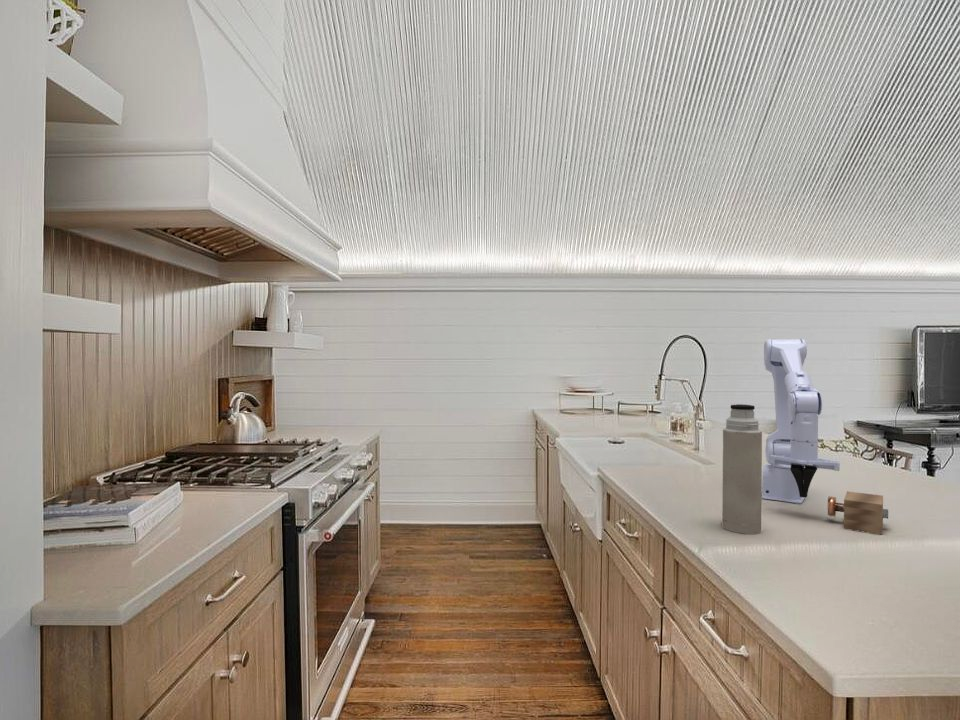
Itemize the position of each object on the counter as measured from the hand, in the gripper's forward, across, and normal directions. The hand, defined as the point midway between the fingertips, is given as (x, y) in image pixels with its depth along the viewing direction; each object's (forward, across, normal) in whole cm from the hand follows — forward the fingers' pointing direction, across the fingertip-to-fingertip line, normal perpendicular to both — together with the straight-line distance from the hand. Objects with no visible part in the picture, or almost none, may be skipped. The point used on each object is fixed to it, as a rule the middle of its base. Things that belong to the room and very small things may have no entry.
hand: (803, 496), depth 135 cm
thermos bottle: (+5, -10, -19) cm, 22 cm away
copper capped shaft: (+4, +11, 0) cm, 11 cm away
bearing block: (+5, +12, 0) cm, 13 cm away
